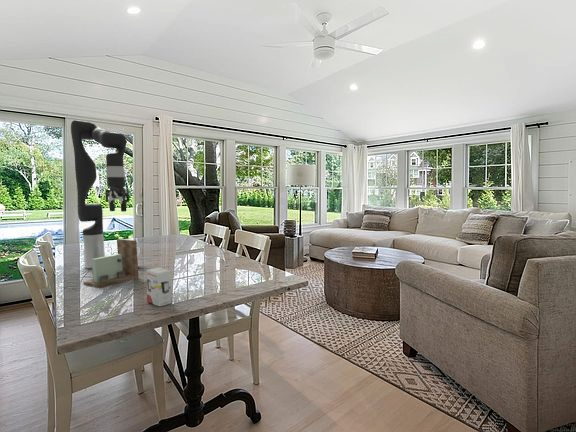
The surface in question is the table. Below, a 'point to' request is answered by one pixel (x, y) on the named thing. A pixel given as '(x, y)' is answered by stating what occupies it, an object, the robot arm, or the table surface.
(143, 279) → the table surface
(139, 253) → the lightbulb
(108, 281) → the wooden l-shaped stand
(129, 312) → the table surface
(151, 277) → the ink box
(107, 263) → the door
